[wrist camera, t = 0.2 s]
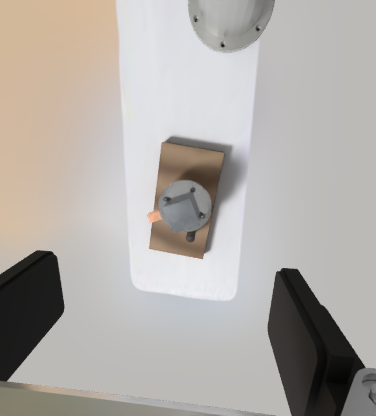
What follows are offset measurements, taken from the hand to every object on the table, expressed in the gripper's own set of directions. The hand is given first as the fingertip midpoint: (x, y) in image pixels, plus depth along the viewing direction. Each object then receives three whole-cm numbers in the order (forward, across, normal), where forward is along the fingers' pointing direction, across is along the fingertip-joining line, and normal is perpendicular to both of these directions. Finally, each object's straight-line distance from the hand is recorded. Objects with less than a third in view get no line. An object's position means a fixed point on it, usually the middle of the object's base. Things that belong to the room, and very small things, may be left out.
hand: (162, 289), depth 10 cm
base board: (+36, +3, +6) cm, 37 cm away
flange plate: (+31, +3, +6) cm, 32 cm away
